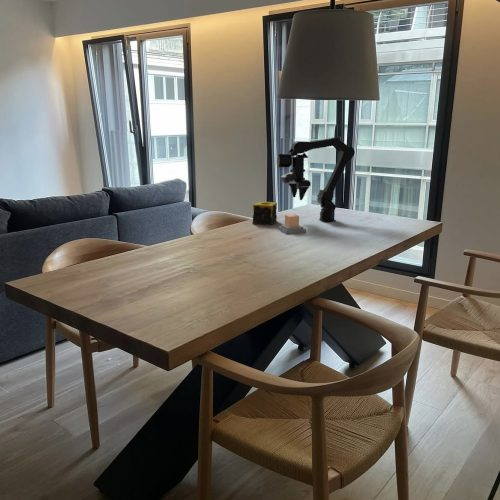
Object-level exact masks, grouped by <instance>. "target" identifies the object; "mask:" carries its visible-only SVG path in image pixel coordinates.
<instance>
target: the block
mask: <svg viewBox="0 0 500 500" xmlns="http://www.w3.org/2000/svg"><path fill="white" fill-rule="evenodd" d="M284 224H285V225H286V226H287V227H299V225H300V215H298V214H295V213H292V214H291V213H290V214H284Z"/></svg>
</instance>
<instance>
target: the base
mask: <svg viewBox="0 0 500 500" xmlns="http://www.w3.org/2000/svg"><path fill="white" fill-rule="evenodd" d="M277 229H278V231H280V232H282V233H283V234H285V235H292V234H293V235H294V234H306V233H307V229H306V228H304V226H302V225H300V224H299V227H287V226H286V225H285V223H284V224H280V225H279V226H277Z"/></svg>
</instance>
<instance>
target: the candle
mask: <svg viewBox="0 0 500 500" xmlns="http://www.w3.org/2000/svg"><path fill="white" fill-rule="evenodd" d="M277 207H278V203H277V202H275V201H274V202H272V201H257V202H255V203H253V204H252V210H253V214H252V224H253V225H264V226H272V225H274V224H275V223H276V222H277V217H278V216H277V209H278V208H277Z"/></svg>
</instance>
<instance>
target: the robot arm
mask: <svg viewBox="0 0 500 500" xmlns="http://www.w3.org/2000/svg"><path fill="white" fill-rule="evenodd" d="M328 147H333V148H334V149H335V150H336V151H337V152H338V155H337V161H336V164H335V166H334V169H333V170H332V173H331V174H330V177H329V180H328V181H327V184H326V186H325V187H324V188H323V189H321V188H320V189H319V192H318V194H317V196H316V197H317V198H316V201H317V203H318V204H319V206H320V208H321V209H320V212H319V219H318V220H319V221H320V222H323V223H329V222H336V221H337V220H336V219H335V215H336V214H335V210H336V209H337V205H336V204H335V203H334V202H333V199H334V192H335V190H336V188H337V185H338V183H339V181H340V179H341V176H342V175H343V172H344V169H345V167H346V166H347V165H348V164H349V163H350V162H351V161H352V159H353V157H354V156H355V153H356V151H355V148H354V147H353V146H349V145H347V144H346V143H344V142H343V141H342V140H340V139H339V138H338V137H334V136H333V137H330V138H324V139H317V140H311V141H308V140H307V141H302V140H298V141H297V140H296V141H294V142H293V143H292V144H291V148H290V149H289V150H288V151H287V153H278V154H277V158H276V159H277V160H276V166H277V168H278V169H281V168H282V169H283V168H284V169H285V168H286V169H287V168H290V167H292V168H291V169H290V170H289V172H288V173H285V174H283V175H281V176H280V178H281V182H282V183H283V184H286V185H288V187H290V191H291V195H292V198H295V197H297V196H296V195H297V193H298V194H299V195H298V196H299V201H303V199H304V197H305V195H306V194H307V192H308V189H309V188H310V187H311V184H312V183H311V181H310V180H309V179H306V178H305V177H304V176H305V175H304V173H305V172H306V169H305V159H308V158H309V156H308V155H307V154H306V152H308V151H312V150H316V149H323V148H328Z"/></svg>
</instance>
